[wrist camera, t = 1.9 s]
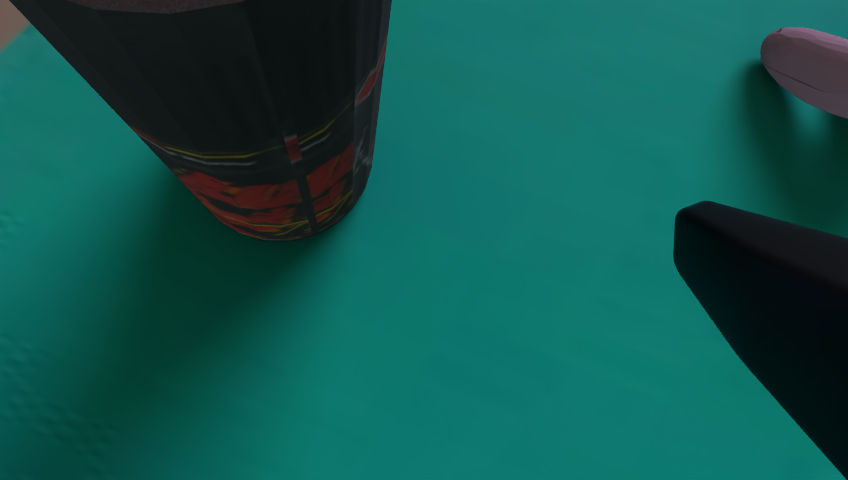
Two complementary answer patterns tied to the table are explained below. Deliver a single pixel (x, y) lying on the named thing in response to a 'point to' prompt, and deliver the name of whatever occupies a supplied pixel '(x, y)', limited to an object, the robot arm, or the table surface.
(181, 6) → the deodorant
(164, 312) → the table surface
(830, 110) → the video game controller
